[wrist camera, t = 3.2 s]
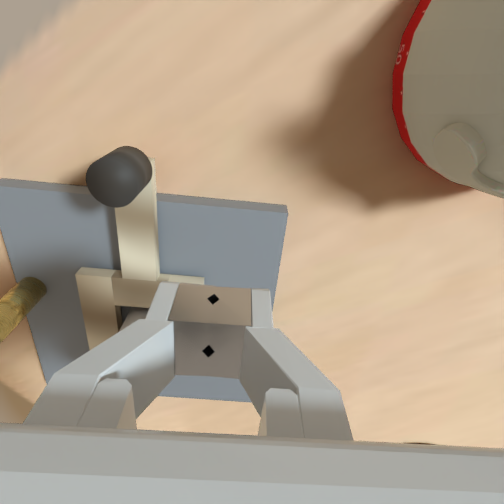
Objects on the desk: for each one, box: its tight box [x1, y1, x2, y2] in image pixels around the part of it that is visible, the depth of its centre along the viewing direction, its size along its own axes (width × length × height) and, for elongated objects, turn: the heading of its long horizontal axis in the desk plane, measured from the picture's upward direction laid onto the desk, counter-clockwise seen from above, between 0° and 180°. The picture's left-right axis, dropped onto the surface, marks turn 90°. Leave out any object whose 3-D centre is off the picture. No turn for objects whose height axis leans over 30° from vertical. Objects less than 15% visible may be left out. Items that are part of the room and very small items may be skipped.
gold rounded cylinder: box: [0, 277, 47, 342], centre depth 24 cm, size 2×2×5 cm
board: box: [0, 178, 288, 402], centre depth 24 cm, size 20×20×10 cm
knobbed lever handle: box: [75, 146, 204, 350], centre depth 23 cm, size 18×9×4 cm, turn 174°
